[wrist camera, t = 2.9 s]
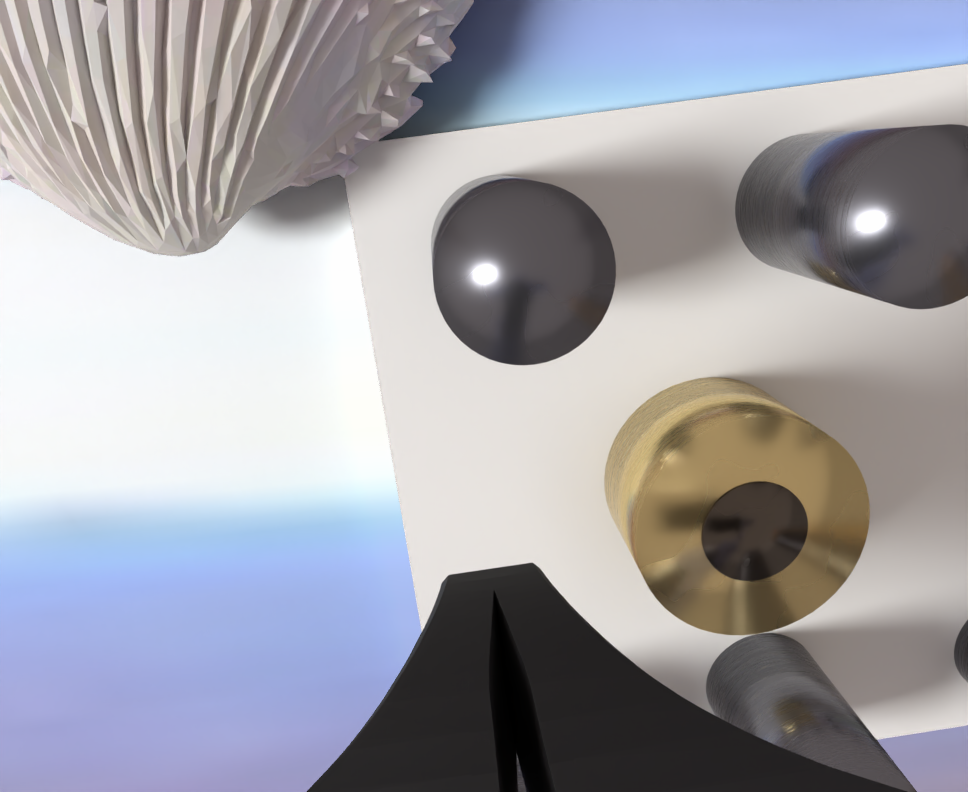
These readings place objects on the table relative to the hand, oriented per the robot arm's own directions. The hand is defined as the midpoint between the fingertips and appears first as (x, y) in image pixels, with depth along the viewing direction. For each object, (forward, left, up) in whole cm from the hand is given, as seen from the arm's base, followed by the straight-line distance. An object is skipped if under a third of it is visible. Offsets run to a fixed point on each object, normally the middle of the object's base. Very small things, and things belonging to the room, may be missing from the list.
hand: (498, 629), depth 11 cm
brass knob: (0, -4, -4) cm, 6 cm away
